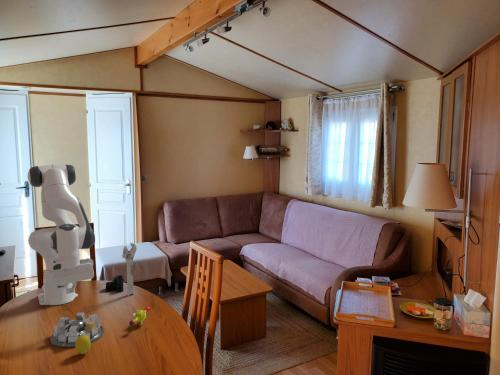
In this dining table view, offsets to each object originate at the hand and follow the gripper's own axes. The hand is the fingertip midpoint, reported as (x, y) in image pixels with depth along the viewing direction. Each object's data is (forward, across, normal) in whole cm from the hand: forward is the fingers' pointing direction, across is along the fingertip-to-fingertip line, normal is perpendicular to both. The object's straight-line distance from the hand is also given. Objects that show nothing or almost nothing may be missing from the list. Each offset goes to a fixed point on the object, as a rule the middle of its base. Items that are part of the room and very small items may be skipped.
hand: (70, 292), depth 172 cm
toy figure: (+18, -25, +15) cm, 34 cm away
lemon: (+18, +4, +24) cm, 30 cm away
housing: (+17, 0, +7) cm, 19 cm away
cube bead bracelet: (+16, 0, +7) cm, 17 cm away
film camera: (+17, -35, -34) cm, 52 cm away
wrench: (+17, -37, -20) cm, 45 cm away
